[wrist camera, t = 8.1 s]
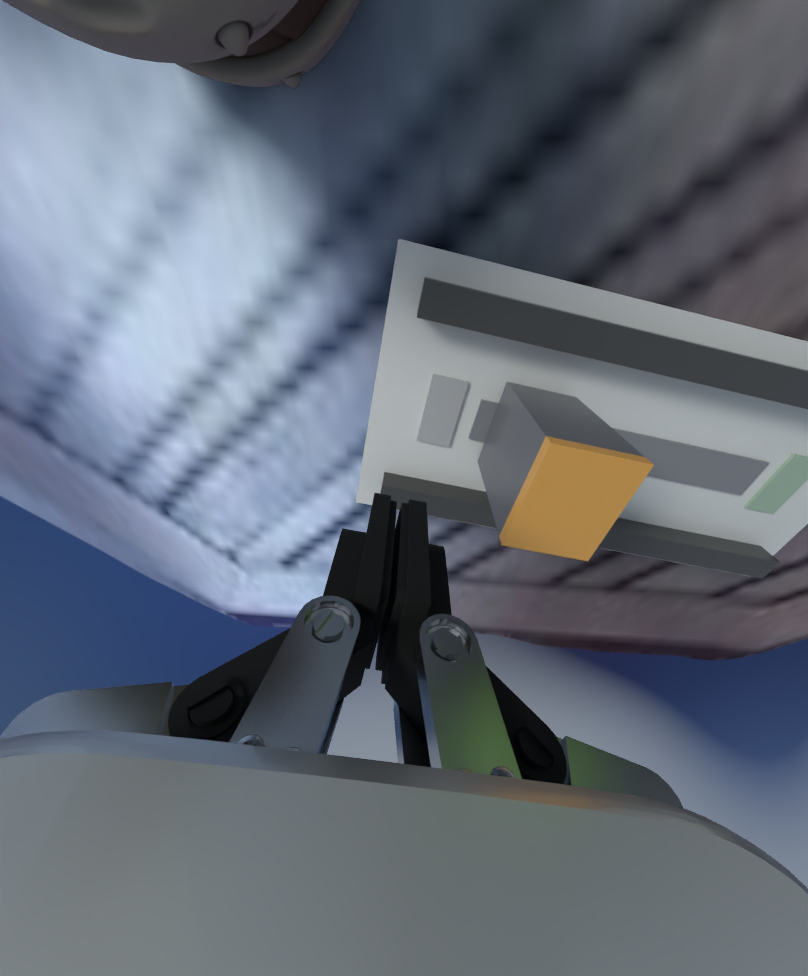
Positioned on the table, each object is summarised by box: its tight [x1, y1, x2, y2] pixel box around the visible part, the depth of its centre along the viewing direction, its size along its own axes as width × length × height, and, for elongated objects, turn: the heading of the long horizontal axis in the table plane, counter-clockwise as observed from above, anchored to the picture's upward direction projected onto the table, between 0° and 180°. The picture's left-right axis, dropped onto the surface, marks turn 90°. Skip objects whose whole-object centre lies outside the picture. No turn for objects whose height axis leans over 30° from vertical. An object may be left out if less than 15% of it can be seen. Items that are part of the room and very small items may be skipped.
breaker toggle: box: [477, 382, 654, 561], centre depth 17 cm, size 5×4×8 cm
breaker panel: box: [356, 239, 808, 578], centre depth 22 cm, size 15×30×5 cm, turn 78°
